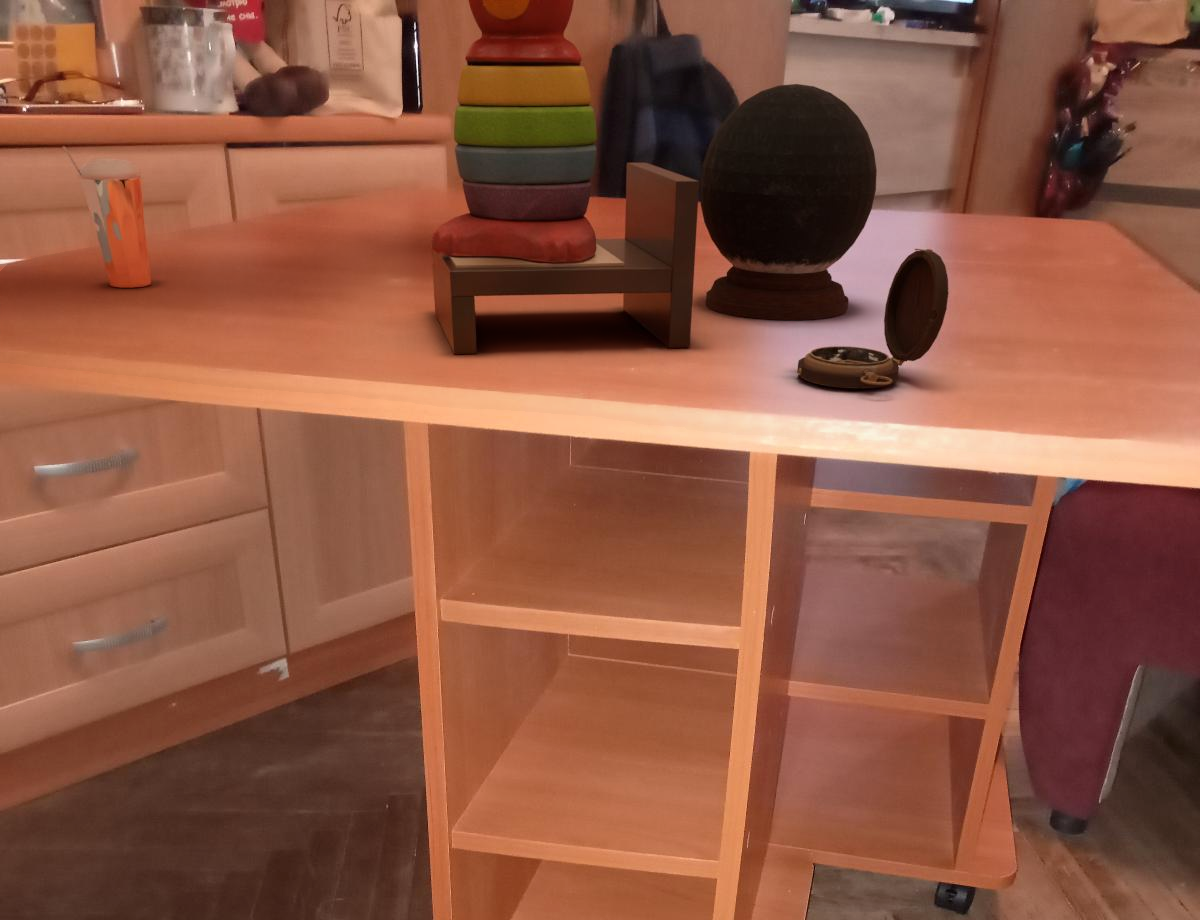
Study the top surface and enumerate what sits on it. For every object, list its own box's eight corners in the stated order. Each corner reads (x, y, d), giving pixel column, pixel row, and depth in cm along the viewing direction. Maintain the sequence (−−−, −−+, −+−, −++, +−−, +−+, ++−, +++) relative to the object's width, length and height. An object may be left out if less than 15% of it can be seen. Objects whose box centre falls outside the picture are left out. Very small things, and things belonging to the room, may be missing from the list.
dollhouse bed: (453, 354, 75) (445, 181, 69) (435, 313, 86) (426, 162, 81) (690, 347, 78) (699, 180, 72) (641, 309, 89) (646, 162, 84)
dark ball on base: (875, 323, 86) (908, 88, 78) (699, 321, 86) (714, 84, 77) (843, 292, 97) (868, 83, 89) (687, 290, 97) (698, 80, 88)
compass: (780, 370, 73) (792, 243, 69) (895, 365, 74) (913, 241, 70) (830, 401, 66) (847, 263, 62) (954, 396, 68) (979, 261, 64)
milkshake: (83, 284, 94) (53, 144, 89) (147, 278, 97) (122, 142, 92) (103, 292, 91) (74, 148, 86) (168, 285, 94) (144, 146, 89)
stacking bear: (422, 255, 76) (400, -82, 66) (481, 236, 84) (469, -67, 75) (576, 265, 73) (577, -85, 64) (621, 245, 82) (629, -68, 72)
